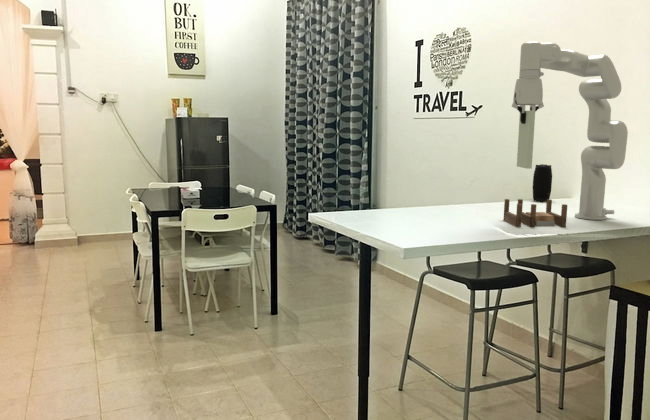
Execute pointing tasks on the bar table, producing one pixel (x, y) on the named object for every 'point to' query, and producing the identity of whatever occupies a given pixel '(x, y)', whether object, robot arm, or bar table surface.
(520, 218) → the rack
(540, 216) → the offcut
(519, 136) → the sheet
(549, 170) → the portable speaker
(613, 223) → the bar table surface
